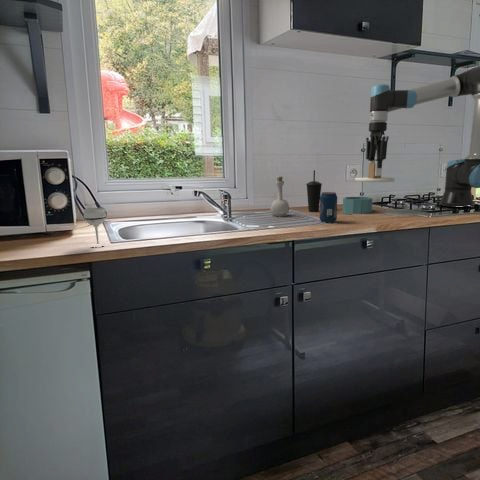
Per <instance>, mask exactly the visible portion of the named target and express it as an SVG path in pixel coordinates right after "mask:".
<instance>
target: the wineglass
mask: <svg viewBox="0 0 480 480" xmlns="http://www.w3.org/2000/svg"><path fill="white" fill-rule="evenodd" d="M83 212H84V213H83V220H84V221H85V222H86V223H87V224H88V225H91V226H93V227H94V229H95V230H94V231H95V236H96V244H100V243H99V229H98V227H100V225H102V224H103V223H104V222H105V221H106V219H107V213H106V208H105V207H91V208H85V209H83Z"/></svg>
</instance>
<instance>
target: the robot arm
mask: <svg viewBox="0 0 480 480" xmlns="http://www.w3.org/2000/svg"><path fill="white" fill-rule="evenodd" d="M469 95H471V98H472V99H473V100H474V105H473V106H474V107H473V115H472V123H471V125H472V126H471V134H470V141H469V142H470V144H469V152H468V155H467V156H466V157H464V158H462V159H460V158H459V159H453V160H449V161H448V162H447V164H446V168H445V169H446V171H445V184H444V193H443V194H442V196H441V200H440V201H439V205H440V204H441V205H445V206H464V205H472V204H474V205H475V201H474V198H473V194H472V188H474V189H480V65H478V66H476V67H472V68H470V69H467V70H465V71H464V72H461V73H459V74H456V75H453V76H451V77H449V78H448V79H445V80H441V81H438V82H434V83H430V84H426V85H422V86H419V87H415V88H411V89H399V90H398V89H396V90H395V89H391V88H390V85H389V84H383V83H382V84H375V85H374V86H372V87H371V91H370V102H369V103H370V105H369V107H370V108H369V122H370V123H369V124H368V132H370V136H368V137H366V138H365V141H366V151H365V153H366V156H365V159H366V160H368V164H369V163H376V164H375V176H381V177H382V171H381V168H382V169H383V161H384V160H386V159H387V153H388V152H387V151H388V149H387V148H388V142H389V141H388V140H389V138H390V137H389V135H388V136H387V135H386V134H385V132H386V131H387V129H388V123H387V122H388V118H389V117H388V113H390V112H394V111H396V110H401V109H412V108H415V106H417V105H421V104H424V103H429V102H432V101H436V100H441V99H444V98H448V97H452V98H456V97H461V96H469ZM375 158H376V159H375Z"/></svg>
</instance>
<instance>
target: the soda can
mask: <svg viewBox="0 0 480 480" xmlns="http://www.w3.org/2000/svg"><path fill="white" fill-rule="evenodd" d="M337 219H338V196H337V192H335V191H333V192H332V191H323V192H322V191H321V194H320V203H319V220H320V222H321V223H323V222H333V223H336V221H337Z"/></svg>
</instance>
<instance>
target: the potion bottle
mask: <svg viewBox="0 0 480 480" xmlns="http://www.w3.org/2000/svg"><path fill="white" fill-rule="evenodd" d="M283 177H284V176H279V177H277V178H276V180H275V185H276V186H277V199H274V200H273V201H272V203H271V204H270V213H271V214H272V217H275V216H285V217H287V216H288V214H289V212H290V205H289V203H288V200H285V199H283V186H284V182H285V181H283Z"/></svg>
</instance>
